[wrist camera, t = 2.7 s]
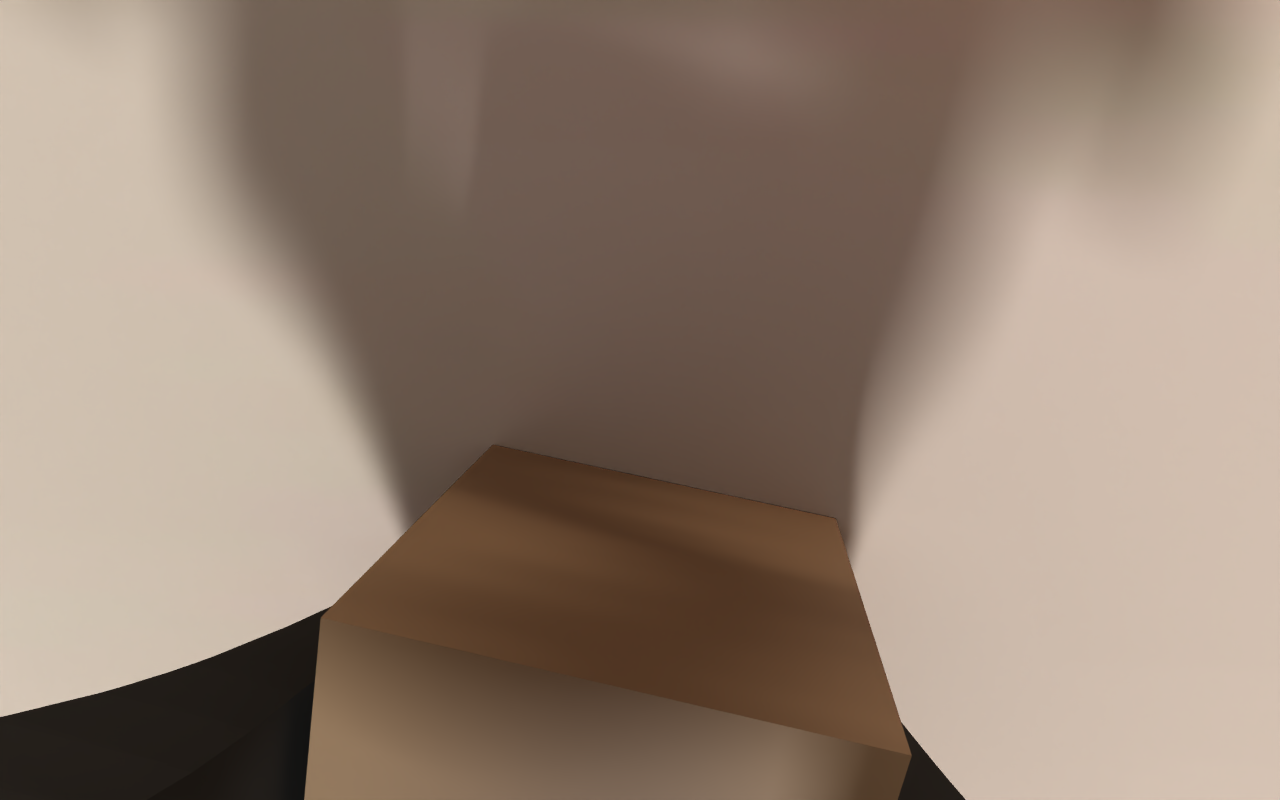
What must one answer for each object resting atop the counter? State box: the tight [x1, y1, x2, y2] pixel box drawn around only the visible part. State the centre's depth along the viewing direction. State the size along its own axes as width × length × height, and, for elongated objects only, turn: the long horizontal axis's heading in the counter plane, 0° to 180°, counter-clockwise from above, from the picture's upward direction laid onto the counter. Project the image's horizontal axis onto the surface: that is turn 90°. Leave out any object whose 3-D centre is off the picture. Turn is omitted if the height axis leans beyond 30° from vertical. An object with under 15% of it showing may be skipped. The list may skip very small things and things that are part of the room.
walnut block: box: [304, 445, 912, 800], centre depth 10 cm, size 5×5×5 cm
